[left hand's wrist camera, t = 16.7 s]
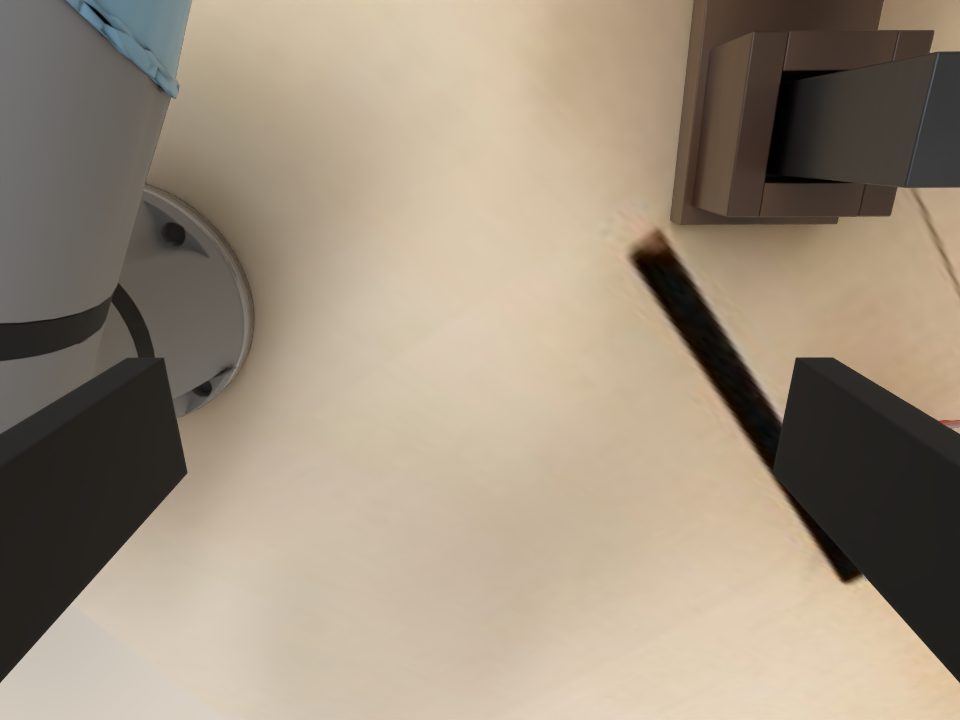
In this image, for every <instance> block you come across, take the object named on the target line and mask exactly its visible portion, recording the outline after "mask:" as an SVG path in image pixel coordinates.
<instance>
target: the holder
mask: <svg viewBox="0 0 960 720" xmlns="http://www.w3.org/2000/svg"><path fill="white" fill-rule="evenodd" d="M882 5H883V0H694V6H693V15H692V24H691V34H690V43H689V52H688V61H687V71H686V80H685V89H684V99H683V108H682V117H681V126H680V136H679V145H678V154H677V163H676V173H675V182H674V191H673V200H672V210H671V219H670V220H671V221H673V222H676V223H678V224H681V225H742V224H837V222H838V218H839V217H857V216H859V217H866V216H890V215H891V212H892V208H893V204H894V199H895V195H896V191H897V187H894V186H884V185H874V184H864V183H854V182H845V181H835V180H825V179H815V178H805V177H795V176H785V175H776V174H766V169H767V163H768V157H769V150H770V144H771V138H772V132H773V125H774V119H775V113H776V107H777V100H778V94H779V88H780V84H781V83H786V82H791V81H796V80H801V79H806V78H811V77H816V76H821V75H826V74H831V73H836V72H841V71H846V70H851V69H855V68H860V67H865V66H870V65H875V64H880V63H885V62H890V61H895V60H900V59H905V58H910V57H915V56H920V55H925V54H929V52H930V48H931V44H932V40H933V35H934V31H933V30H899V31H898V30H877V29H878V25H879V20H880V15H881V10H882Z"/></svg>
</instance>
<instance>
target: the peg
mask: <svg viewBox="0 0 960 720" xmlns="http://www.w3.org/2000/svg"><path fill="white" fill-rule="evenodd" d="M766 174H776V175H785V176H795V177H805V178H815V179H825V180H835V181H845V182H854V183H864V184H874V185H884V186H894V187H904V188H953V187H960V52H934V53H930V54H925V55H920V56H915V57H910V58H905V59H900V60H895V61H890V62H885V63H880V64H875V65H870V66H865V67H860V68H855V69H851V70H846V71H841V72H836V73H831V74H826V75H821V76H816V77H811V78H806V79H801V80H796V81H791V82H786V83H781V84H780V88H779V94H778V100H777V107H776V113H775V119H774V125H773V132H772V138H771V144H770V150H769V157H768V163H767V169H766Z"/></svg>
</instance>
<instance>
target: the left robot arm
mask: <svg viewBox="0 0 960 720" xmlns="http://www.w3.org/2000/svg"><path fill="white" fill-rule="evenodd" d="M191 3H192V0H0V682H1V681H2V680H3V679H4V678H5V677H6V676H7V675H8V673H9V672H10V671H11V670H12V669H13V668H14V667H15V666H16V665H17V663H18V662H19V661H20V660H21V659H22V658H23V657H24V656H25V654H26V653H27V652H28V651H29V650H30V649H31V648H32V647H33V646H34V644H35V643H36V642H37V641H38V640H39V639H40V638H41V637H42V635H43V634H44V633H45V632H46V631H47V630H48V629H49V627H50V626H51V625H52V624H53V623H54V622H55V621H56V620H57V619H58V617H59V616H60V615H61V614H62V613H63V612H64V611H65V610H66V608H67V607H68V606H69V605H70V604H71V603H72V602H73V601H74V600H75V598H76V597H77V596H78V595H79V594H80V593H81V592H82V591H83V589H84V588H85V587H86V586H87V585H88V584H89V583H90V582H91V581H92V579H93V578H94V577H95V576H96V575H97V574H98V573H99V572H100V570H101V569H102V568H103V567H104V566H105V565H106V564H107V563H108V561H109V560H110V559H111V558H112V557H113V556H114V555H115V554H116V553H117V551H118V550H119V549H120V548H121V547H122V546H123V545H124V544H125V542H126V541H127V540H128V539H129V538H130V537H131V536H132V535H133V533H134V532H135V531H136V530H137V529H138V528H139V527H140V526H141V524H142V523H143V522H144V521H145V520H146V519H147V518H148V517H149V516H150V514H151V513H152V512H153V511H154V510H155V509H156V508H157V507H158V505H159V504H160V503H161V502H162V501H163V500H164V499H165V498H166V496H167V495H168V494H169V493H170V492H171V491H172V490H173V489H174V488H175V486H176V485H177V484H178V483H179V482H180V481H181V480H182V479H183V477H184V476H185V475H186V474H187V468H186V463H185V458H184V454H183V449H182V444H181V439H180V434H179V429H178V424H177V418H180V417H182V416H185V415H187V414H189V413H191V412H193V411H195V410H197V409H199V408H200V407H202V406H204V405H205V404H207V403H208V402H209V401H211V400H212V399H213V398H215V397H216V396H217V395H218V394H219V393H220V392H221V391H222V390H223V389H224V388H225V387H226V386H227V385H228V384H229V383H230V382H231V381H232V380H233V379H234V377H235V376H236V375H237V373H238V372H239V370H240V369H241V367H242V365H243V363H244V361H245V359H246V357H247V354H248V352H249V349H250V345H251V341H252V337H253V328H254V311H253V302H252V297H251V292H250V288H249V285H248V281H247V279H246V276H245V274H244V271H243V269H242V267H241V265H240V263H239V261H238V259H237V257H236V255H235V254H234V252H233V250H232V249H231V247H230V246H229V244H228V243H227V242H226V240H225V239H224V238H223V236H222V235H221V234H220V233H219V232H218V231H217V230H216V228H215V227H214V226H213V225H212V224H211V223H210V222H209V221H208V220H207V219H205V218H204V217H203V216H202V215H201V214H200V213H198V212H197V211H196V210H195V209H193V208H192V207H191V206H189V205H188V204H186V203H185V202H183V201H182V200H180V199H178V198H177V197H175V196H173V195H171V194H169V193H167V192H165V191H163V190H160V189H158V188H156V187H153V186H150V185H147V184H145V183H146V179H147V175H148V172H149V169H150V165H151V162H152V159H153V155H154V152H155V149H156V145H157V142H158V139H159V135H160V132H161V129H162V125H163V122H164V119H165V116H166V112H167V109H168V106H169V102H170V99H171V97H172V98H174V99H176V96H177V94H178V91H179V84H178V82H177V80H176V74H177V69H178V64H179V59H180V54H181V49H182V44H183V39H184V34H185V30H186V25H187V20H188V16H189V12H190V7H191ZM773 474H774V475H775V476H776V477H777V479H778V480H779V481H780V482H781V483H782V484H783V485H784V486H785V488H786V489H787V490H788V491H789V492H790V493H791V494H792V495H793V496H794V498H795V499H796V500H797V501H798V502H799V503H800V504H801V505H802V507H803V508H804V509H805V510H806V511H807V512H808V513H809V514H810V516H811V517H812V518H813V519H814V520H815V521H816V522H817V523H818V524H819V526H820V527H821V528H822V529H823V530H824V531H825V532H826V533H827V535H828V536H829V537H830V538H831V539H832V540H833V541H834V542H835V544H836V545H837V546H838V547H839V548H840V549H841V550H842V551H843V553H844V554H845V555H846V556H847V557H848V558H849V559H850V560H851V561H852V563H853V564H854V565H855V566H856V567H857V568H858V569H859V570H860V572H861V573H862V574H863V575H864V576H865V577H866V578H867V579H868V581H869V582H870V583H871V584H872V585H873V586H874V587H875V588H876V589H877V591H878V592H879V593H880V594H881V595H882V596H883V597H884V598H885V600H886V601H887V602H888V603H889V604H890V605H891V606H892V607H893V609H894V610H895V611H896V612H897V613H898V614H899V615H900V616H901V617H902V619H903V620H904V621H905V622H906V623H907V624H908V625H909V626H910V628H911V629H912V630H913V631H914V632H915V633H916V634H917V635H918V637H919V638H920V639H921V640H922V641H923V642H924V643H925V644H926V646H927V647H928V648H929V649H930V650H931V651H932V652H933V653H934V654H935V656H936V657H937V658H938V659H939V660H940V661H941V662H942V663H943V665H944V666H945V667H946V668H947V669H948V670H949V671H950V672H951V674H952V675H953V676H954V677H955V678H956V679H957V680H958V681H959V682H960V434H959V433H957V432H956V431H954V430H952V429H951V428H949V427H947V426H946V425H944V424H942V423H941V422H939V421H937V420H936V419H934V418H932V417H931V416H929V415H927V414H926V413H924V412H922V411H921V410H919V409H917V408H916V407H914V406H912V405H911V404H909V403H907V402H906V401H904V400H902V399H901V398H899V397H897V396H896V395H894V394H892V393H891V392H889V391H887V390H886V389H884V388H882V387H881V386H879V385H877V384H876V383H874V382H872V381H871V380H869V379H868V378H866V377H864V376H863V375H861V374H859V373H858V372H856V371H854V370H853V369H851V368H849V367H848V366H846V365H844V364H843V363H841V362H839V361H838V360H836V359H834V358H796V360H795V365H794V370H793V375H792V380H791V385H790V389H789V394H788V399H787V404H786V409H785V414H784V419H783V424H782V429H781V434H780V439H779V444H778V449H777V454H776V458H775V463H774V468H773Z"/></svg>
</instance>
